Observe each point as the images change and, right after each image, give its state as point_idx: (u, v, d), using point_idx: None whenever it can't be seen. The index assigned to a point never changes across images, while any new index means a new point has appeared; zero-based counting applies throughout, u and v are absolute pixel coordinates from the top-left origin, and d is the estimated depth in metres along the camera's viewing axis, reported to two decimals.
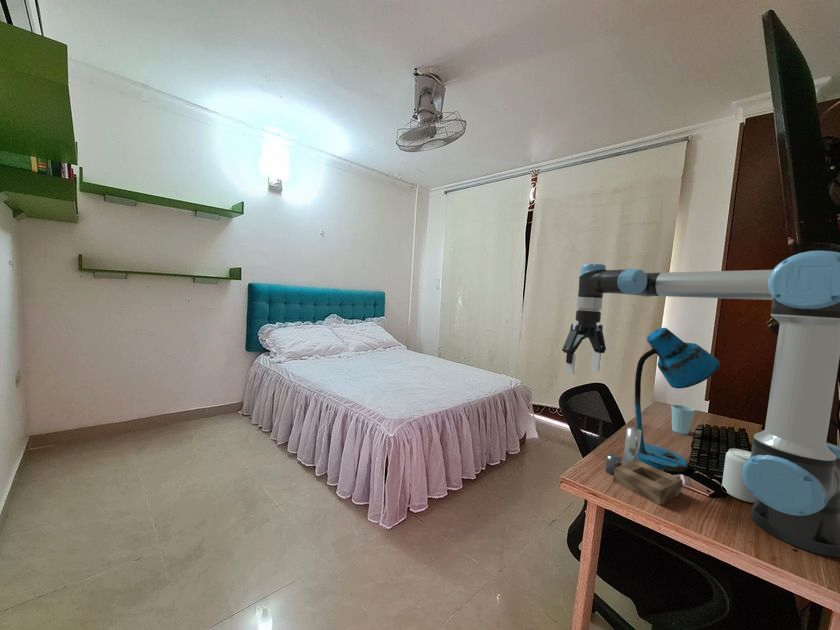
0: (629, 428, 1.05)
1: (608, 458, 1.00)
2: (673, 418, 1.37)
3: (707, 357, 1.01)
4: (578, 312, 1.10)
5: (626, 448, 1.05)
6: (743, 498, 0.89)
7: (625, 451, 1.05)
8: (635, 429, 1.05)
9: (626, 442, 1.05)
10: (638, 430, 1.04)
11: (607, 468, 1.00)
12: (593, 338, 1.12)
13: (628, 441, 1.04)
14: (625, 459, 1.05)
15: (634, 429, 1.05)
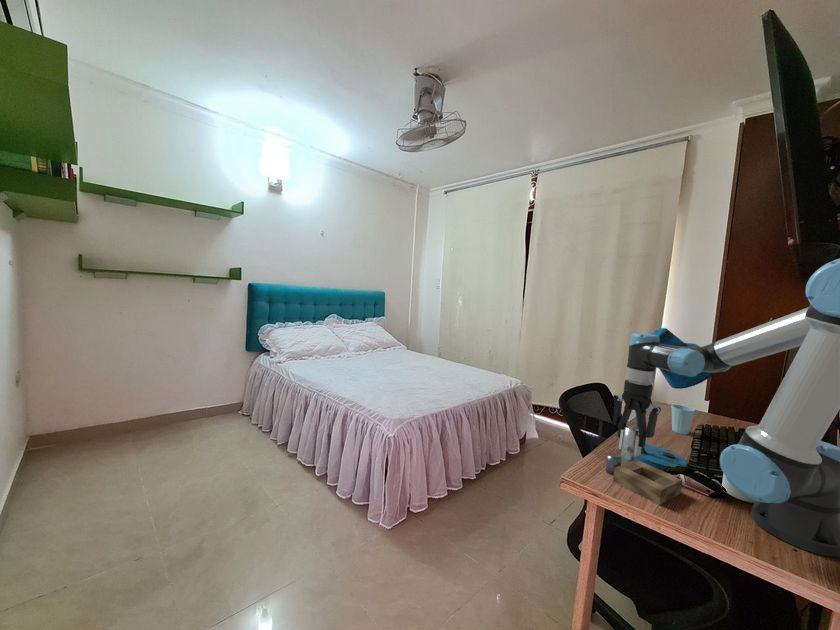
0: (627, 427, 1.06)
1: (608, 458, 1.00)
2: (673, 418, 1.37)
3: None
4: None
5: (624, 447, 1.06)
6: (743, 498, 0.89)
7: (622, 450, 1.06)
8: (633, 428, 1.05)
9: (624, 441, 1.06)
10: (636, 429, 1.05)
11: (607, 468, 1.00)
12: None
13: (626, 440, 1.05)
14: (622, 457, 1.06)
15: (632, 428, 1.05)
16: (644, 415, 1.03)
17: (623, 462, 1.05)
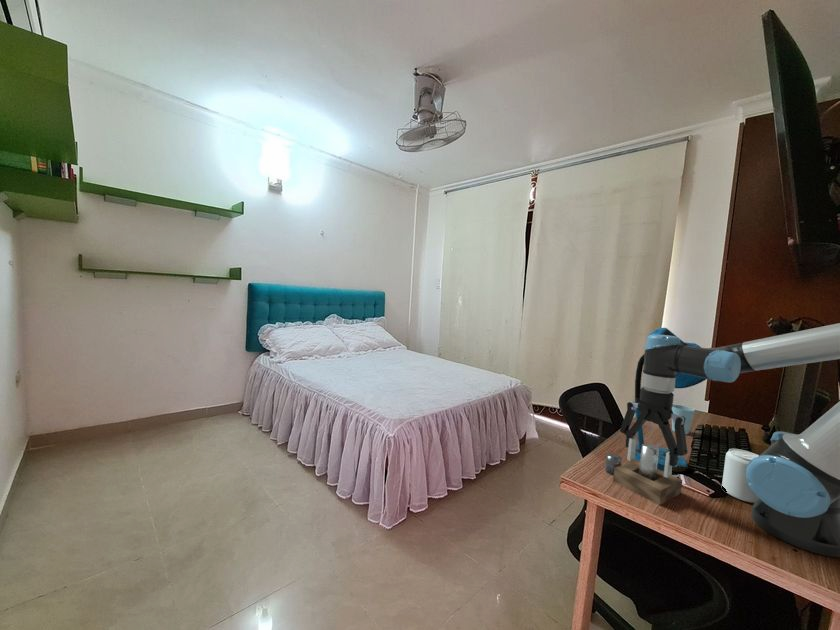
0: (645, 445, 0.93)
1: (608, 458, 1.00)
2: None
3: None
4: None
5: (641, 468, 0.92)
6: (743, 498, 0.89)
7: (640, 471, 0.93)
8: (651, 447, 0.92)
9: (641, 461, 0.93)
10: (655, 448, 0.92)
11: (607, 468, 1.00)
12: None
13: (644, 460, 0.92)
14: None
15: (650, 447, 0.92)
16: (668, 428, 0.89)
17: None
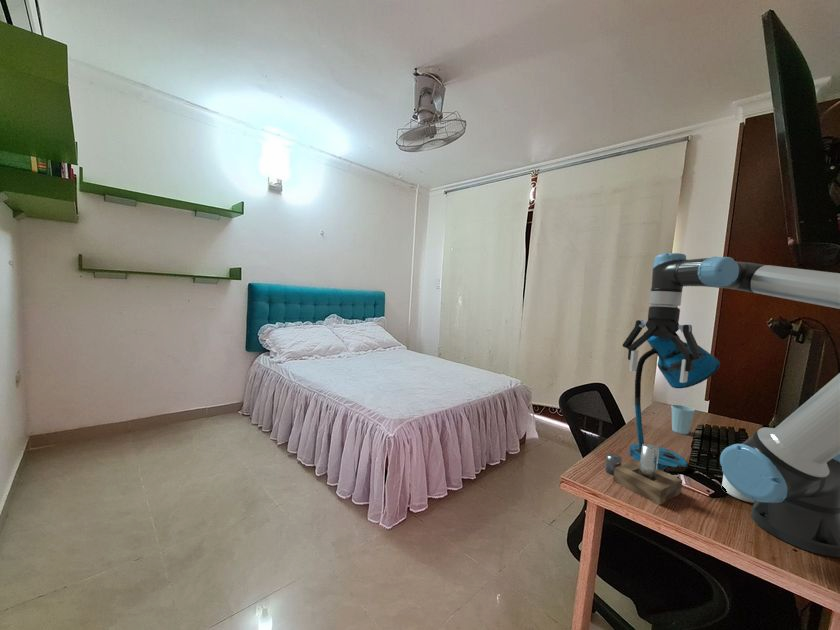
0: (645, 445, 0.93)
1: (608, 458, 1.00)
2: (673, 418, 1.37)
3: (707, 357, 1.01)
4: None
5: (641, 468, 0.92)
6: (743, 498, 0.89)
7: (640, 471, 0.93)
8: (652, 447, 0.92)
9: (641, 461, 0.93)
10: (655, 448, 0.91)
11: (607, 468, 1.00)
12: None
13: (644, 460, 0.92)
14: None
15: (651, 447, 0.92)
16: (678, 338, 0.94)
17: None
